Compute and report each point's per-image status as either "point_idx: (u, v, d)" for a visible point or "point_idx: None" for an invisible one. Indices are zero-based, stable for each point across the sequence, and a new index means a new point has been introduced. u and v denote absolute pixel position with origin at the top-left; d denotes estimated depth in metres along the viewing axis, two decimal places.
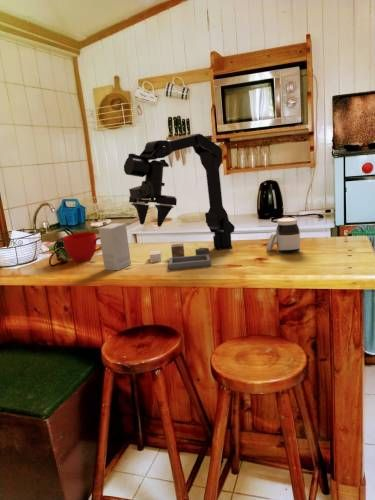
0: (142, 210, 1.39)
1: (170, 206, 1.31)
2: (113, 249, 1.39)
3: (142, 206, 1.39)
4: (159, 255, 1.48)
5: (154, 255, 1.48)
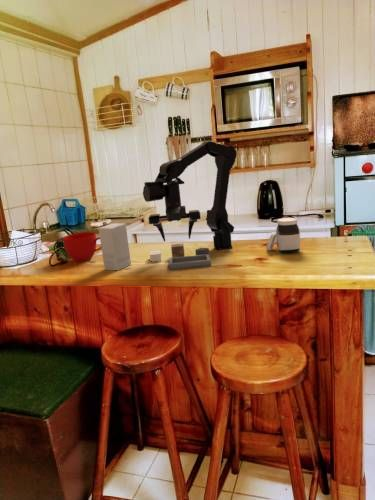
0: (162, 228, 1.48)
1: None
2: (113, 249, 1.39)
3: (161, 224, 1.47)
4: (159, 255, 1.48)
5: (154, 255, 1.48)
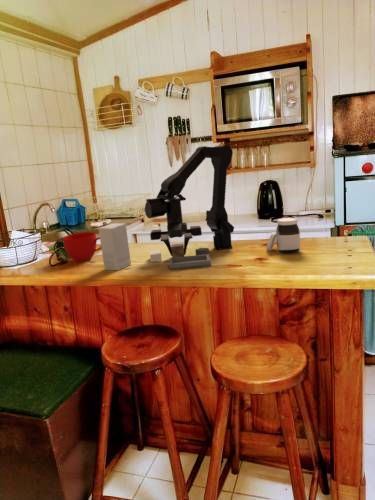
0: (169, 243, 1.49)
1: None
2: (113, 249, 1.39)
3: (168, 239, 1.49)
4: (160, 255, 1.48)
5: (155, 255, 1.48)
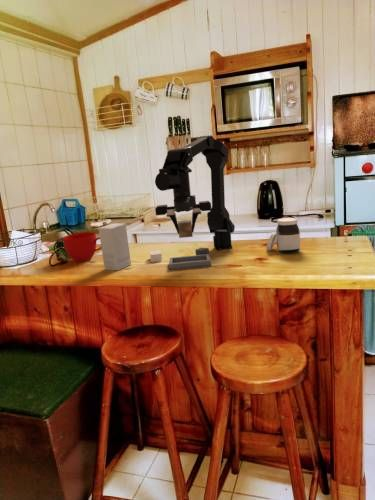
0: (176, 220, 1.37)
1: None
2: (113, 249, 1.39)
3: (175, 215, 1.36)
4: (160, 255, 1.48)
5: (155, 255, 1.48)
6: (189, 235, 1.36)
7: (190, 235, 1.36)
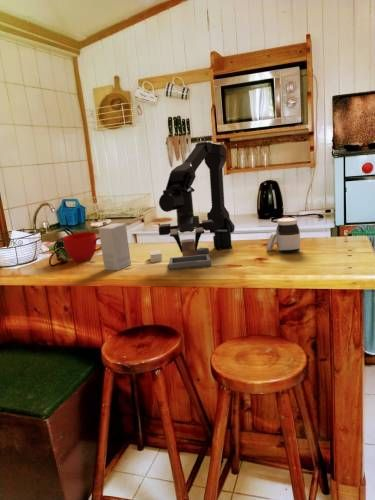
0: None
1: None
2: (113, 249, 1.39)
3: (178, 234, 1.37)
4: (160, 255, 1.48)
5: (155, 255, 1.48)
6: (192, 254, 1.37)
7: (193, 254, 1.37)
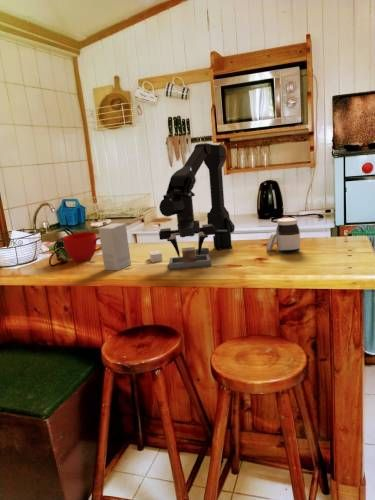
0: (176, 243, 1.38)
1: None
2: (113, 249, 1.39)
3: (176, 239, 1.38)
4: (160, 255, 1.48)
5: (155, 255, 1.48)
6: None
7: None
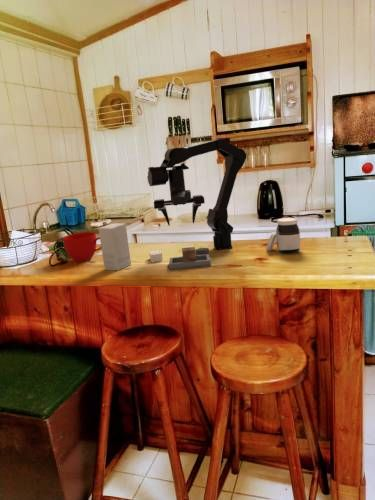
0: (166, 213, 1.51)
1: None
2: (113, 249, 1.39)
3: None
4: (161, 255, 1.48)
5: (156, 255, 1.48)
6: None
7: None
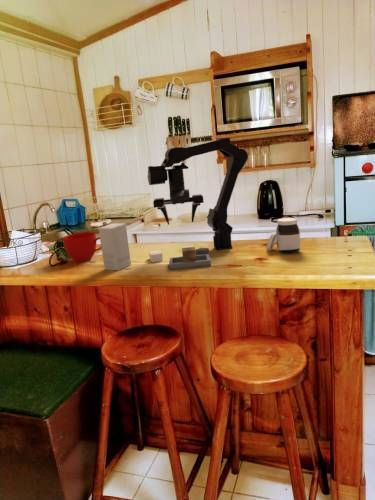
0: (166, 212, 1.53)
1: None
2: (113, 249, 1.39)
3: (165, 208, 1.52)
4: (161, 255, 1.49)
5: (156, 255, 1.48)
6: None
7: None
